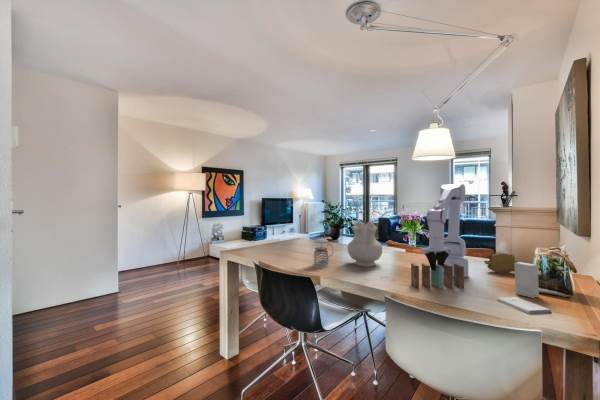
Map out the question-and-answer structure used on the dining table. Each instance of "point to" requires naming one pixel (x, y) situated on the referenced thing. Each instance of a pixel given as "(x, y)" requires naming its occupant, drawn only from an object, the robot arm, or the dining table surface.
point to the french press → (320, 251)
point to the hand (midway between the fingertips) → (436, 269)
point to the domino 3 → (437, 276)
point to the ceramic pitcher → (364, 244)
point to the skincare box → (526, 279)
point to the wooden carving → (501, 263)
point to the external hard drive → (523, 305)
